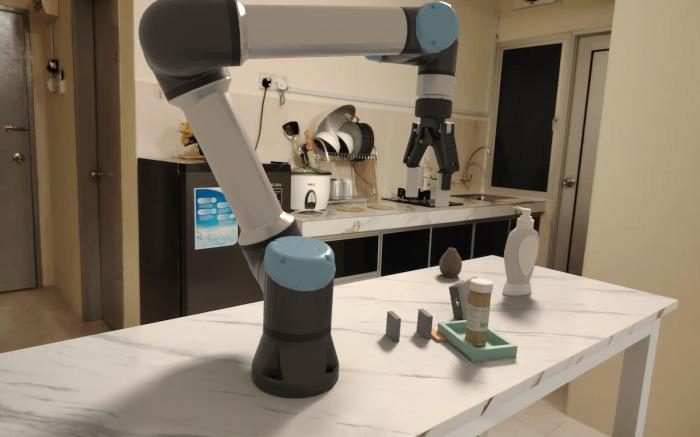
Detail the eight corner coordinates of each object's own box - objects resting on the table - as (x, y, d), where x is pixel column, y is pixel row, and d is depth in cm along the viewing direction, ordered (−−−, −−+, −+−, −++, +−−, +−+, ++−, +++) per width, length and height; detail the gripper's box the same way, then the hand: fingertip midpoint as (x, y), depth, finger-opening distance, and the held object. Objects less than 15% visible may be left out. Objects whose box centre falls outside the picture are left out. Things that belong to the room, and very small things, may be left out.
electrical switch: (467, 324, 111) (467, 285, 110) (446, 320, 114) (447, 282, 113) (483, 314, 118) (484, 277, 117) (464, 310, 121) (464, 274, 120)
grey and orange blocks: (397, 345, 97) (399, 322, 96) (382, 329, 104) (384, 308, 103) (445, 340, 101) (447, 318, 100) (427, 326, 108) (429, 305, 107)
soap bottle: (519, 285, 143) (529, 205, 139) (540, 293, 136) (551, 209, 132) (486, 289, 137) (496, 206, 133) (506, 298, 130) (517, 210, 126)
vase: (438, 277, 146) (441, 250, 145) (438, 271, 153) (440, 245, 151) (461, 280, 145) (464, 252, 144) (460, 273, 152) (462, 247, 150)
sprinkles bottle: (479, 337, 102) (486, 277, 100) (490, 346, 98) (497, 284, 95) (460, 338, 101) (466, 277, 99) (469, 347, 97) (476, 284, 94)
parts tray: (472, 362, 91) (474, 350, 91) (437, 333, 104) (438, 322, 104) (516, 357, 95) (517, 346, 94) (476, 329, 108) (477, 319, 107)
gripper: (485, 96, 87) (473, 211, 90) (422, 102, 110) (415, 193, 114) (449, 93, 84) (438, 211, 88) (392, 100, 107) (386, 193, 111)
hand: (425, 201), depth 101 cm, fingers open, 13 cm apart
